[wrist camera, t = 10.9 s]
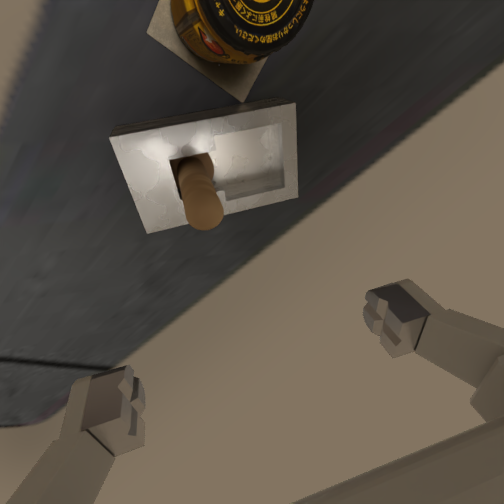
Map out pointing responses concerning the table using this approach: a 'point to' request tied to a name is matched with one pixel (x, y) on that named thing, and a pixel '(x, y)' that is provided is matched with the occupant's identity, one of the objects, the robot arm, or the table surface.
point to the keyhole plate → (220, 151)
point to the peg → (198, 190)
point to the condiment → (228, 35)
